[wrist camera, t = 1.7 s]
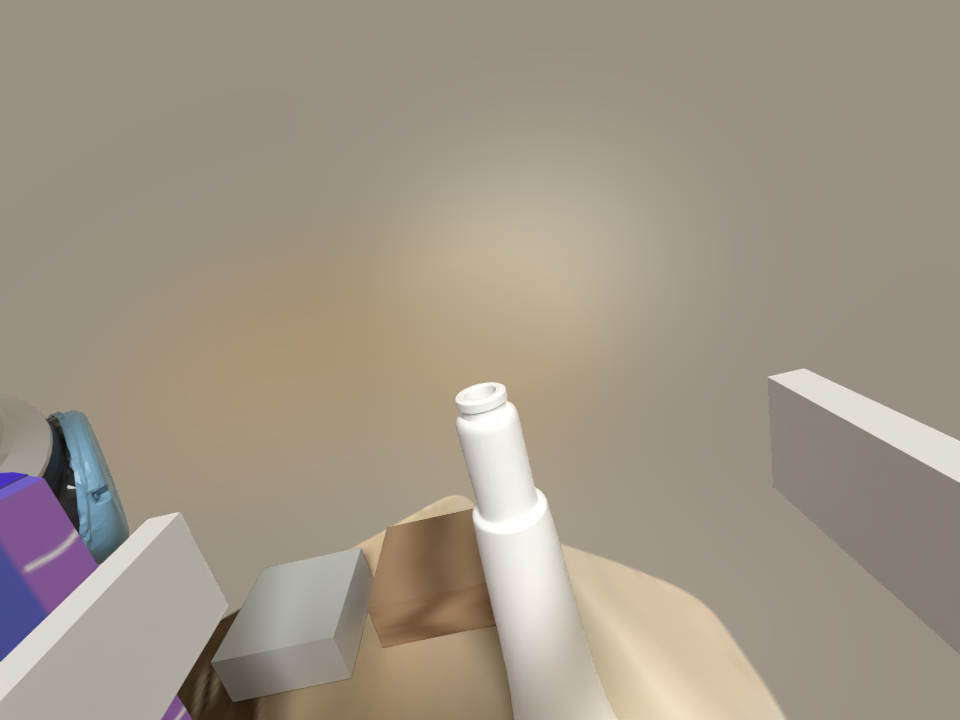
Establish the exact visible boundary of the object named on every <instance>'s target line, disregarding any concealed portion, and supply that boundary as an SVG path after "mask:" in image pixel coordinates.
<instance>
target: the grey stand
mask: <svg viewBox="0 0 960 720" xmlns="http://www.w3.org/2000/svg"><path fill="white" fill-rule="evenodd" d="M373 582H374V579H373V576H372V574H371V571H370V569H369V566H368V563H367V561H366V558H365V556H364V553H363V550H362V548H361V547H360V548H356V549H351V550H346V551H342V552H337V553H333V554H328V555H323V556H319V557H314V558H309V559H305V560H300V561H296V562H291V563H286V564H282V565H277V566H272V567H268V568H264V569H263V571H262V572H261V574H260V576H259V578H258V580H257V581H256V583H255V585H254V586H253V588H252V590H251V592H250V594H249V595H248V597H247V599H246V601H245V602H244V604H243V606H242V608H241V610H240V611H239V613H238V615H237V617H236V618H235V620H234V622H233V624H232V626H231V627H230V629H229V631H228V633H227V634H226V636H225V638H224V640H223V642H222V643H221V645H220V647H219V649H218V650H217V652H216V654H215V656H214V658H213V659H212V661H211V664H212V666H213V668H214V669H215V671H216V673H217V675H218V677H219V678H220V680H221V682H222V684H223V685H224V687H225V689H226V691H227V693H228V694H229V696H230V698H231V700H232V701H233V702H237V701H242V700H247V699H252V698H257V697H261V696H266V695H271V694H276V693H281V692H286V691H291V690H296V689H301V688H306V687H311V686H316V685H321V684H325V683H330V682H335V681H340V680H345V679H350V678H352V674H353V670H354V666H355V662H356V658H357V654H358V650H359V646H360V642H361V637H362V633H363V629H364V625H365V621H366V617H367V613H368V609H367V606H368V602H369V598H370V594H371V590H372V586H373Z"/></svg>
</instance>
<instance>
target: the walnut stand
mask: <svg viewBox="0 0 960 720" xmlns="http://www.w3.org/2000/svg"><path fill="white" fill-rule="evenodd" d="M472 512H473V509H470V510H466V511H461V512H456V513H452V514H447V515H443V516H438V517H433V518H429V519H424V520H420V521H415V522H410V523H406V524H401V525H397V526H392V527H387V529H386V533H385V537H384V541H383V545H382V549H381V553H380V557H379V562H378V566H377V570H376V574H375V578H374V582H373V586H372V590H371V594H370V598H369V602H368V606H367V609H368V612H369V614H370V617H371V619H372V622H373V624H374V627H375V629H376V632H377V634H378V637H379V639H380V642H381V644H382V646H383V648H384V647H389V646H394V645H399V644H404V643H409V642H414V641H418V640H423V639H428V638H433V637H438V636H443V635H448V634H453V633H457V632H462V631H467V630H472V629H477V628H482V627H487V626H491V625H496V623H495V618H494V614H493V610H492V605H491V601H490V597H489V593H488V588H487V584H486V580H485V575H484V571H483V566H482V562H481V558H480V553H479V548H478V543H477V539H476V534H475V529H474V524H473V519H472Z"/></svg>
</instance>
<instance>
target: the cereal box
mask: <svg viewBox="0 0 960 720" xmlns="http://www.w3.org/2000/svg"><path fill="white" fill-rule="evenodd" d="M97 568H98V565H97V563H96V562H95V560H94V559H93V557H92V555H91V554H90V552H89V550H88V549H87V547H86V546H85V544H84V542H83V541H82V539H81V537H80V536H79V534H78V532H77V531H76V529H75V528H74V526H73V524H72V523H71V521H70V519H69V518H68V516H67V515H66V513H65V511H64V510H63V508H62V506H61V505H60V503H59V502H58V500H57V498H56V497H55V495H54V493H53V492H52V490H51V488H50V487H49V485H48V484H47V482H46V480H45V479H44V478H40V477H35V476H29V475H28V474H23V473H16V472H7V473H0V662H1V661H2V660H3V659H4V658H5V657H6V656H7V655H8V654H9V653H10V652H11V651H13V650H14V649H15V648H16V647H17V646H18V645H19V644H20V643H21V642H22V641H23V640H24V639H25V638H26V637H27V636H28V635H29V634H30V633H31V632H32V631H33V630H34V629H35V628H36V627H37V626H38V625H39V624H40V623H41V622H42V621H43V620H44V619H46V618H47V617H48V616H49V615H50V614H51V613H52V612H53V611H54V610H55V609H56V608H57V607H58V606H59V605H60V604H61V603H62V602H63V601H64V600H65V599H66V598H67V597H68V596H69V595H70V594H71V593H72V592H73V591H74V590H75V589H76V588H77V587H79V586H80V585H81V584H82V583H83V582H84V581H85V580H86V579H87V578H88V577H89V576H90V575H91V574H92V573H93V572H94V571H95V570H96V569H97ZM161 720H192V718H191V717H190V715H189V713H188V712H187V710H186V708H185V707H184V705H183V704H182V702H181V700H180V699H179V697H178V695H177V694H176V696H175V697H174V699H173V701H172V702H171V704H170V706H169V707H168V709H167V711H166V712H165V714H164V716H163V717H162V719H161Z"/></svg>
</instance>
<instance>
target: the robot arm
mask: <svg viewBox="0 0 960 720" xmlns="http://www.w3.org/2000/svg"><path fill="white" fill-rule="evenodd" d="M768 396H769V415H770V435H771V453H772V474H773V487H774V488H775V489H776V490H777V491H778V492H779V493H781V494H782V495H783V496H784V497H785V498H786V499H787V500H788V501H790V502H791V503H792V504H793V505H794V506H795V507H796V508H797V509H798V510H799V511H800V512H802V513H803V514H804V515H805V516H806V517H807V518H808V519H809V520H811V521H812V522H813V523H814V524H815V525H816V526H817V527H818V528H819V529H821V530H822V531H823V532H824V533H825V534H826V535H827V536H828V537H829V538H831V539H832V540H833V541H834V542H835V543H836V544H837V545H838V546H840V547H841V548H842V549H843V550H844V551H845V552H846V553H847V554H848V555H850V556H851V557H852V558H853V559H854V560H855V561H856V562H857V563H858V564H859V565H861V566H862V567H863V568H864V569H865V570H866V571H867V572H868V573H870V574H871V575H872V576H873V577H874V578H875V579H876V580H877V581H879V582H880V583H881V584H882V585H883V586H884V587H885V588H886V589H887V590H888V591H890V592H891V593H892V594H893V595H894V596H895V597H896V598H897V599H898V600H900V601H901V602H902V603H903V604H904V605H905V606H906V607H907V608H909V609H910V610H911V611H912V612H913V613H914V614H915V615H916V616H917V617H918V618H920V619H921V620H922V621H923V622H924V623H925V624H926V625H927V626H928V627H930V628H931V629H932V630H933V631H934V632H935V633H936V634H937V635H939V636H940V637H941V638H942V639H943V640H944V641H945V642H946V643H948V644H949V645H950V646H951V647H952V648H953V649H954V650H955V651H956V652H958V653H959V654H960V441H958V440H956V439H954V438H952V437H949V436H948V435H946V434H943V433H941V432H939V431H937V430H935V429H933V428H931V427H928V426H926V425H924V424H922V423H920V422H918V421H915V420H913V419H911V418H909V417H907V416H905V415H903V414H901V413H898V412H896V411H894V410H892V409H890V408H887V407H885V406H883V405H881V404H879V403H877V402H875V401H873V400H870V399H868V398H866V397H864V396H862V395H860V394H857V393H855V392H853V391H851V390H849V389H847V388H845V387H843V386H840V385H838V384H836V383H834V382H832V381H830V380H828V379H825V378H823V377H821V376H819V375H817V374H815V373H813V372H810V371H808V370H806V369H800V370H795V371H791V372H787V373H782V374H778V375H774V376H769V377H768ZM7 472H16V473H23V474H28V475H29V476H35V477H40V478H44V479H45V480H46V482H47V484H48V485H49V487H50V488H51V490H52V492H53V493H54V495H55V497H56V498H57V500H58V502H59V503H60V505H61V506H62V508H63V510H64V511H65V513H66V515H67V516H68V518H69V519H70V521H71V523H72V524H73V526H74V528H75V529H76V531H77V532H78V534H79V536H80V537H81V539H82V541H83V542H84V544H85V546H86V547H87V549H88V550H89V552H90V554H91V555H92V557H93V559H94V560H95V562H96V563H97V565H99V564H101V563H102V564H101V565H100V566H99V567H98V568H97V569H96V570H95V571H94V572H93V573H92V574H91V575H90V576H89V577H88V578H87V579H86V580H85V581H84V582H83V583H82V584H81V585H80V586H79V587H77V588H76V589H75V590H74V591H73V592H72V593H71V594H70V595H69V596H68V597H67V598H66V599H65V600H64V601H63V602H62V603H61V604H60V605H59V606H58V607H57V608H56V609H55V610H54V611H53V612H52V613H51V614H50V615H49V616H48V617H47V618H46V619H44V620H43V621H42V622H41V623H40V624H39V625H38V626H37V627H36V628H35V629H34V630H33V631H32V632H31V633H30V634H29V635H28V636H27V637H26V638H25V639H24V640H23V641H22V642H21V643H20V644H19V645H18V646H17V647H16V648H15V649H14V650H13V651H11V652H10V653H9V654H8V655H7V656H6V657H5V658H4V659H3V660H2V661H1V662H0V720H161V719H162V717H163V716H164V714H165V712H166V711H167V709H168V707H169V706H170V704H171V702H172V701H173V699H174V697H175V696H176V694H177V692H178V691H179V689H180V687H181V686H182V684H183V682H184V681H185V679H186V677H187V676H188V674H189V672H190V671H191V669H192V667H193V666H194V664H195V662H196V661H197V659H198V657H199V656H200V654H201V652H202V651H203V649H204V647H205V646H206V644H207V642H208V641H209V639H210V637H211V636H212V634H213V632H214V631H215V629H216V627H217V626H218V624H219V622H220V621H221V619H222V617H223V616H224V614H225V612H226V610H227V609H228V607H229V605H228V604H227V602H226V599H225V598H224V595H223V593H222V592H221V590H220V588H219V586H218V584H217V582H216V580H215V578H214V576H213V575H212V572H211V570H210V568H209V567H208V565H207V563H206V561H205V559H204V557H203V555H202V553H201V551H200V549H199V547H198V546H197V544H196V542H195V540H194V538H193V536H192V534H191V532H190V530H189V528H188V526H187V524H186V522H185V520H184V518H183V516H182V515H181V513H180V512H177V513H173V514H169V515H164V516H160V517H156V518H151V519H148V520H147V521H146V522H145V523H144V524H142V525H141V526H140V527H139V528H138V529H137V530H136V531H135V532H134V533H133V534H132V535H131V536H130V537H129V527H128V524H127V520H126V517H125V514H124V510H123V507H122V504H121V501H120V498H119V495H118V493H117V490H116V487H115V484H114V482H113V479H112V476H111V473H110V471H109V468H108V465H107V463H106V460H105V458H104V455H103V453H102V450H101V448H100V445H99V443H98V440H97V438H96V436H95V433H94V431H93V429H92V427H91V424H90V422H89V420H88V418H87V417H86V416H85V414H83V413H82V412H79V411H70V412H66V413H60V412H57V413H54V414H51V415H50V416H49V417H48V419H46V418H45V417H44V416H43V415H42V414H41V413H40V412H39V411H38V410H37V409H36V408H35V407H33V406H32V405H30V404H29V403H27V402H25V401H23V400H20V399H18V398H15V397H12V396H8V395H3V394H0V473H7Z"/></svg>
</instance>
